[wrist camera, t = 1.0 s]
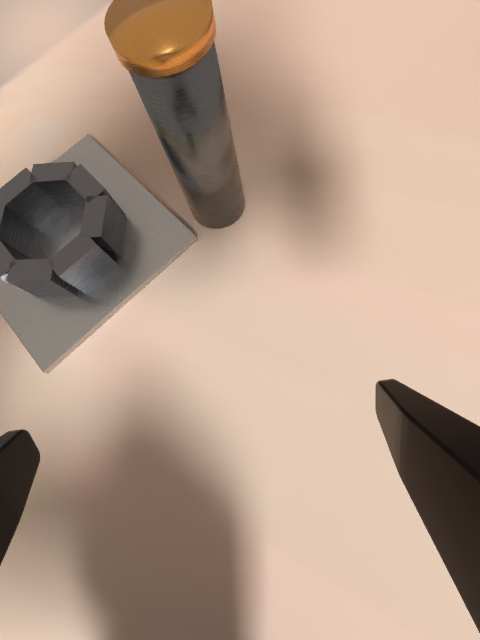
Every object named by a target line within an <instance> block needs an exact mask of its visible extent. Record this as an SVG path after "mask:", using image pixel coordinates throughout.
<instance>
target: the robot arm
mask: <svg viewBox="0 0 480 640" xmlns="http://www.w3.org/2000/svg"><path fill="white" fill-rule="evenodd" d="M376 414H377V417H378V420H379V423H380V425H381V428H382V431H383V433H384V436H385V439H386V441H387V444H388V447H389V449H390V452H391V455H392V457H393V460H394V463H395V465H396V468H397V470H398V473H399V475H400V477H401V479H402V481H403V483H404V485H405V487H406V489H407V491H408V493H409V495H410V497H411V499H412V501H413V503H414V505H415V507H416V509H417V511H418V513H419V515H420V517H421V519H422V521H423V523H424V525H425V527H426V529H427V531H428V533H429V534H430V536H431V538H432V540H433V542H434V544H435V546H436V548H437V550H438V552H439V554H440V556H441V558H442V560H443V562H444V564H445V566H446V568H447V570H448V572H449V574H450V576H451V578H452V580H453V582H454V584H455V585H456V587H457V589H458V591H459V593H460V595H461V597H462V599H463V601H464V603H465V605H466V607H467V609H468V611H469V613H470V615H471V617H472V619H473V621H474V623H475V625H476V627H477V629H478V631H479V633H480V426H478V425H476V424H474V423H473V422H471V421H469V420H467V419H465V418H464V417H462V416H460V415H458V414H456V413H454V412H453V411H451V410H449V409H447V408H445V407H444V406H442V405H440V404H438V403H436V402H435V401H433V400H431V399H429V398H427V397H426V396H424V395H422V394H420V393H418V392H417V391H415V390H413V389H411V388H409V387H408V386H406V385H404V384H402V383H400V382H399V381H397V380H395V379H389V380H381V381H378V382H377V383H376ZM39 462H40V452H39V450H38V448H37V446H36V445H35V443H34V441H33V439H32V437H31V436H30V434H29V432H28V431H26V430H15V431H9V432H7V433H5V434H4V435H2V436H1V437H0V565H1V563H2V561H3V558H4V556H5V554H6V552H7V549H8V547H9V545H10V542H11V540H12V538H13V535H14V533H15V531H16V529H17V526H18V524H19V521H20V519H21V516H22V513H23V510H24V507H25V504H26V501H27V498H28V495H29V492H30V489H31V486H32V483H33V480H34V477H35V474H36V471H37V468H38V465H39Z"/></svg>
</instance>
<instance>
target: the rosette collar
mask: <svg viewBox="0 0 480 640" xmlns="http://www.w3.org/2000/svg"><path fill="white" fill-rule="evenodd" d="M196 240H197V237H196V236H195V235H194V234H193V233H192V232H191V231H190V230H189V229H188V228H187V227H186V226H185V225H184V224H183V223H182V222H181V221H180V220H178V219H177V218H176V217H175V216H174V215H173V214H172V213H171V212H170V211H169V210H168V209H167V208H166V207H165V206H164V205H163V204H161V203H160V202H159V201H158V200H157V199H156V198H155V197H154V196H153V195H152V194H151V193H150V192H149V191H148V190H147V189H146V188H144V187H143V186H142V185H141V184H140V183H139V182H138V181H137V180H136V179H135V178H134V177H133V176H132V175H131V174H130V173H129V172H127V171H126V170H125V169H124V168H123V167H122V166H121V165H120V164H119V163H118V162H117V161H116V160H115V159H114V158H113V157H112V156H110V155H109V154H108V153H107V152H106V151H105V150H104V149H103V148H102V147H101V146H100V145H99V144H98V143H97V142H96V141H95V140H93V139H92V138H91V137H90V136H89V135H87V136H85V137H84V138H83V139H82V140H80V141H79V142H78V143H77V144H76V145H74V146H73V147H72V148H71V149H69V150H68V151H67V152H66V153H65V154H63V155H62V156H61V157H60V158H58V159H57V160H56V161H55V162H54V163H46V164H34V165H33V169H32V173H31V172H30V171H29V170H28V169H27V168H25V169H24V170H22V171H21V172H20V173H19V174H17V175H16V176H15V177H14V178H13V179H11V180H10V181H9V182H8V183H6V184H5V185H4V186H3V187H1V188H0V313H1V314H2V316H3V317H4V318H5V320H6V321H7V323H8V324H9V325H10V327H11V328H12V330H13V331H14V332H15V334H16V335H17V337H18V338H19V339H20V341H21V342H22V344H23V345H24V346H25V348H26V349H27V351H28V352H29V353H30V355H31V356H32V358H33V359H34V360H35V362H36V363H37V365H38V366H39V367H40V369H41V370H42V371H43V372H44V373H49V372H50V371H51V370H52V369H53V368H54V367H55V366H57V365H58V364H59V363H60V362H61V361H62V360H63V359H64V358H65V357H67V356H68V355H69V354H70V353H71V352H72V351H73V350H74V349H75V348H77V347H78V346H79V345H80V344H81V343H82V342H83V341H84V340H86V339H87V338H88V337H89V336H90V335H91V334H92V333H93V332H94V331H96V330H97V329H98V328H99V327H100V326H101V325H102V324H103V323H105V322H106V321H107V320H108V319H109V318H110V317H111V316H112V315H113V314H115V313H116V312H117V311H118V310H119V309H120V308H121V307H122V306H124V305H125V304H126V303H127V302H128V301H129V300H130V299H131V298H132V297H134V296H135V295H136V294H137V293H138V292H139V291H140V290H141V289H143V288H144V287H145V286H146V285H147V284H148V283H149V282H150V281H151V280H153V279H154V278H155V277H156V276H157V275H158V274H159V273H160V272H162V271H163V270H164V269H165V268H166V267H167V266H168V265H169V264H170V263H172V262H173V261H174V260H175V259H176V258H177V257H178V256H179V255H181V254H182V253H183V252H184V251H185V250H186V249H187V248H188V247H189V246H191V245H192V244H193V243H194V242H195V241H196Z"/></svg>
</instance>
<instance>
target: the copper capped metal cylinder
mask: <svg viewBox="0 0 480 640" xmlns="http://www.w3.org/2000/svg"><path fill="white" fill-rule="evenodd" d="M105 30H106V34H107V36H108V38H109V40H110V42H111V44H112V46H113V49H114V51H115V53H116V55H117V57H118V59H119V61H120V63H121V64H122V65H123V66H124V67H125V68H126V69H127V70H128V71H129V72H130V75H131V77H132V79H133V81H134V83H135V86H136V88H137V90H138V92H139V95H140V97H141V99H142V101H143V103H144V106H145V108H146V110H147V112H148V115H149V117H150V119H151V121H152V123H153V126H154V128H155V130H156V132H157V135H158V137H159V139H160V141H161V143H162V146H163V148H164V150H165V152H166V155H167V157H168V159H169V161H170V163H171V166H172V168H173V170H174V172H175V174H176V177H177V179H178V181H179V183H180V186H181V188H182V190H183V192H184V194H185V197H186V199H187V201H188V203H189V206H190V208H191V210H192V212H193V214H194V217H195V218H196V220H197V221H198V222H199V223H200V224H202V225H203V226H205V227H208V228H214V229H218V228H224V227H227V226H229V225H231V224H233V223H234V222H236V221H237V220H238V219H239V218H240V216H241V215H242V213H243V211H244V208H245V198H244V193H243V188H242V183H241V178H240V172H239V167H238V162H237V157H236V152H235V147H234V141H233V136H232V131H231V126H230V121H229V116H228V111H227V105H226V100H225V95H224V90H223V85H222V80H221V74H220V69H219V64H218V59H217V54H216V49H215V44H214V39H215V36H216V23H215V18H214V12H213V7H212V1H211V0H113V2H112V3H111V5H110V6H109V8H108V10H107V13H106V16H105Z"/></svg>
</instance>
